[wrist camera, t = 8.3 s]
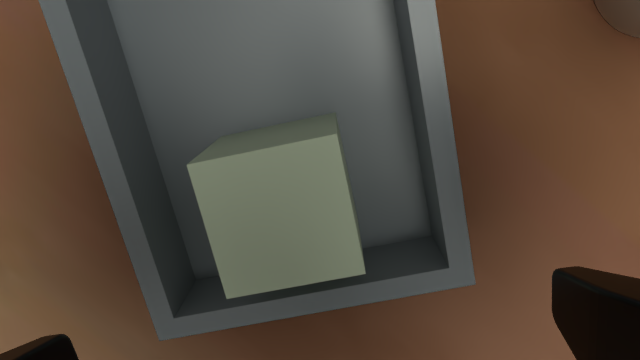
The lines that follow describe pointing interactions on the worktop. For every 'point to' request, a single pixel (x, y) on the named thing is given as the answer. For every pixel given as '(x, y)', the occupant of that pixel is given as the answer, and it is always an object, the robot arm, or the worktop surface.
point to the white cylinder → (621, 15)
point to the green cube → (279, 206)
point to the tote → (258, 112)
